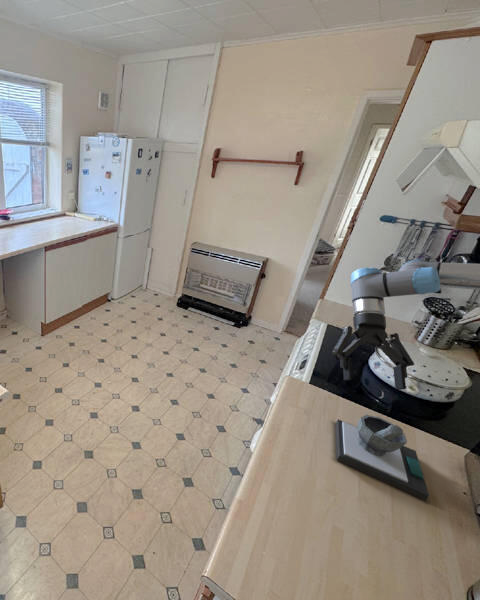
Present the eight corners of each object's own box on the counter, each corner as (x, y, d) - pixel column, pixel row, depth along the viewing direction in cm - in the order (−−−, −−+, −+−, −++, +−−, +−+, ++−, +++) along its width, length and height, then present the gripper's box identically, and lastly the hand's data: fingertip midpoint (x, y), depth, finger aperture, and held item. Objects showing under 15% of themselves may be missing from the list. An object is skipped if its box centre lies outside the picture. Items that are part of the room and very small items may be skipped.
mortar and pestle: (348, 427, 95) (366, 396, 90) (388, 442, 91) (410, 411, 86) (353, 454, 86) (375, 422, 81) (398, 472, 82) (424, 440, 77)
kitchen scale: (411, 455, 91) (416, 449, 89) (424, 500, 79) (430, 494, 77) (335, 423, 99) (338, 417, 98) (336, 460, 87) (340, 453, 86)
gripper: (404, 325, 101) (412, 393, 95) (317, 312, 106) (319, 377, 99) (425, 319, 94) (435, 392, 88) (332, 305, 99) (334, 374, 92)
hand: (374, 384), depth 94 cm, fingers open, 13 cm apart
